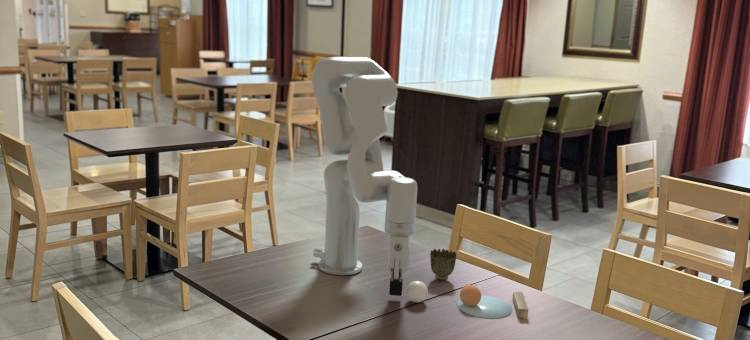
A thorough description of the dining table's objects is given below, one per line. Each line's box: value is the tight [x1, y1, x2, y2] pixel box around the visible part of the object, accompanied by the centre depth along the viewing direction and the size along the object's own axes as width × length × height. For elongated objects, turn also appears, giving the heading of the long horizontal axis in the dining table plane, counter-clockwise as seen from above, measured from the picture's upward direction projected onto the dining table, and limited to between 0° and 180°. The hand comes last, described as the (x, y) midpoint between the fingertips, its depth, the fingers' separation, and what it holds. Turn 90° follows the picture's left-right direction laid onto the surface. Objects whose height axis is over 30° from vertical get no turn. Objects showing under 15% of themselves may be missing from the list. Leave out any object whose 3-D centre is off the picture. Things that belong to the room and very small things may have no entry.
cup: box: [429, 248, 457, 282], centre depth 193 cm, size 8×7×8 cm
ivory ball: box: [406, 280, 429, 303], centre depth 177 cm, size 6×6×6 cm
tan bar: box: [512, 291, 529, 320], centre depth 176 cm, size 2×11×2 cm, turn 176°
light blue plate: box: [456, 294, 513, 320], centre depth 177 cm, size 14×14×1 cm
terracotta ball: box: [459, 284, 482, 306], centre depth 176 cm, size 6×6×6 cm
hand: (395, 294), depth 178 cm, fingers closed
